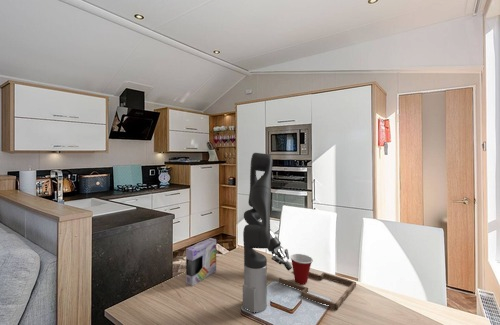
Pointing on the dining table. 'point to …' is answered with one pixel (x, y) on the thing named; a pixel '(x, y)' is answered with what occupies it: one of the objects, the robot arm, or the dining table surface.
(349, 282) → the T fence
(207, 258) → the cake pan box
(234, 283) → the dining table surface
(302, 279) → the plastic cup
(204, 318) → the dining table surface
